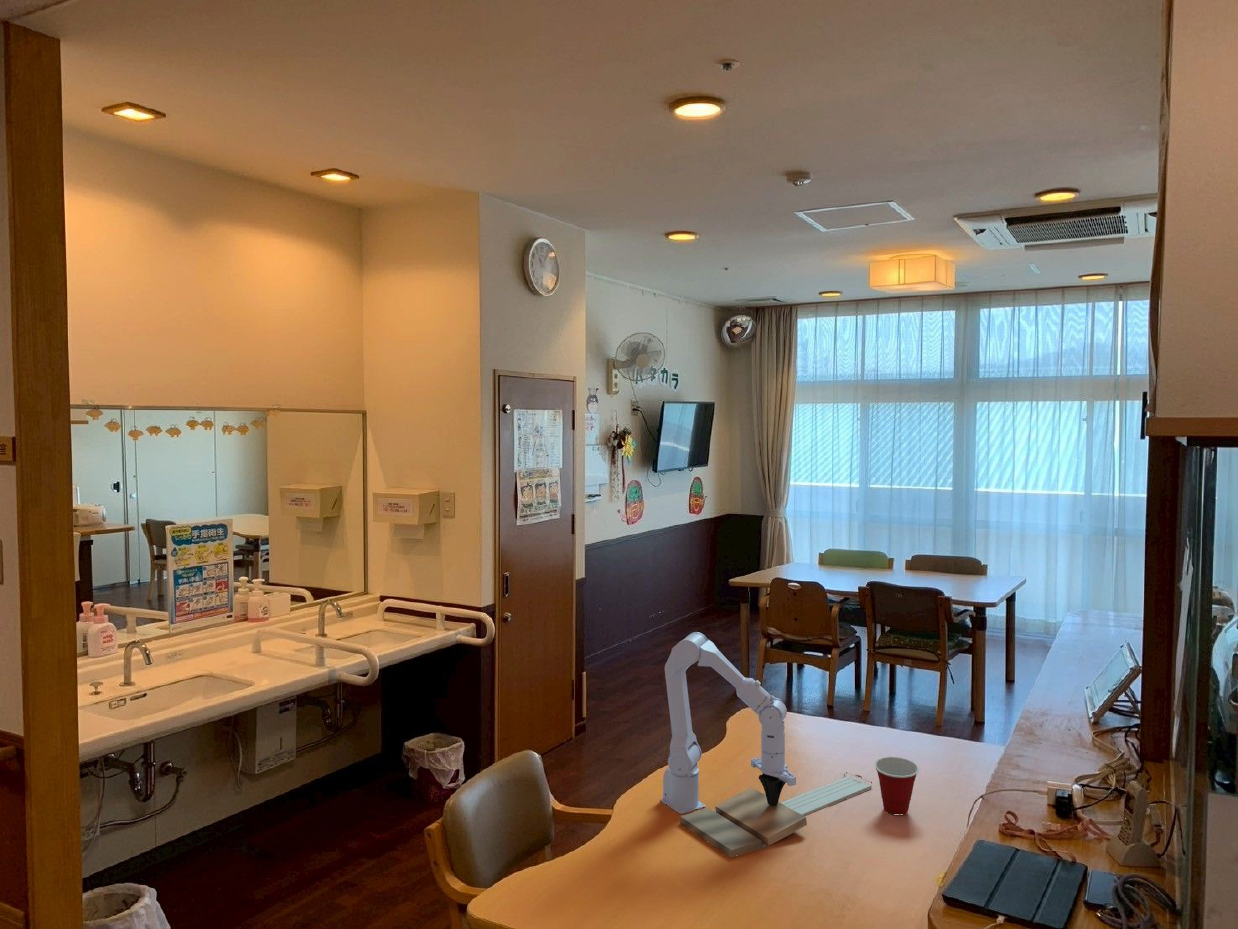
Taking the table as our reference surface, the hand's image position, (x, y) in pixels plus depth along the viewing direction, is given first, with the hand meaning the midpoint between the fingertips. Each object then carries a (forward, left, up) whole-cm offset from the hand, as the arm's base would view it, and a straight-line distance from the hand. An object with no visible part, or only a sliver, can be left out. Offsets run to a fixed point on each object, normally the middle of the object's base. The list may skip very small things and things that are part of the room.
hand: (772, 804), depth 222 cm
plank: (0, -4, -3) cm, 5 cm away
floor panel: (0, -16, -4) cm, 17 cm away
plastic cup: (+12, +30, -4) cm, 33 cm away
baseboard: (-4, +20, -5) cm, 21 cm away
